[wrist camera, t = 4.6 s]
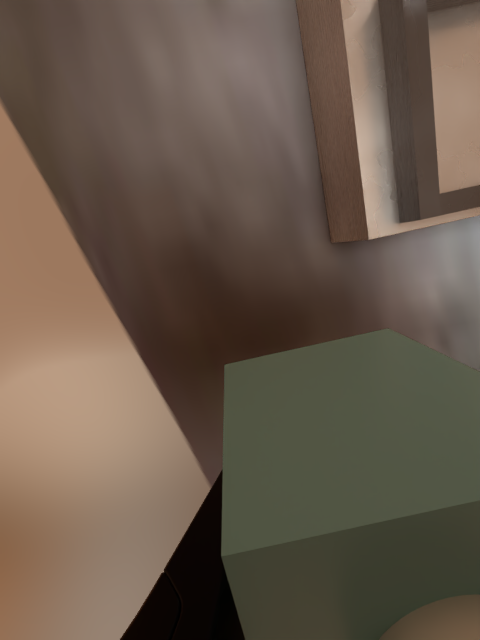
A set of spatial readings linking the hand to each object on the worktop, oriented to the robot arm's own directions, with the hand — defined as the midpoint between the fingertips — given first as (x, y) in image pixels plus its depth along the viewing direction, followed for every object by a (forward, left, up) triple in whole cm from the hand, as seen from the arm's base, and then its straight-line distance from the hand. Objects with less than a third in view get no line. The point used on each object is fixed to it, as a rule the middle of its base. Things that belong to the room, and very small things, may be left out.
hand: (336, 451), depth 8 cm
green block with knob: (0, 0, -2) cm, 2 cm away
